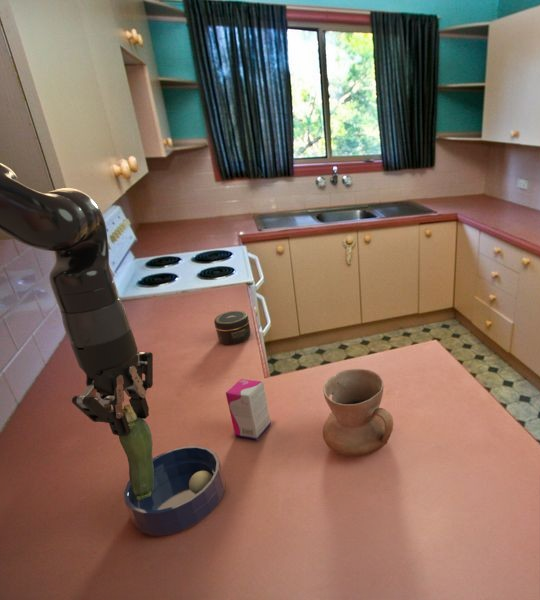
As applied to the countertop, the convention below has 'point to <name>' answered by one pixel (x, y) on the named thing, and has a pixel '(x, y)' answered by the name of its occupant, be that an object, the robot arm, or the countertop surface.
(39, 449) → the countertop surface
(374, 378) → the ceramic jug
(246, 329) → the jar
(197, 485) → the ball
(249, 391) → the supplement box
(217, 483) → the bowl
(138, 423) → the vegetable
